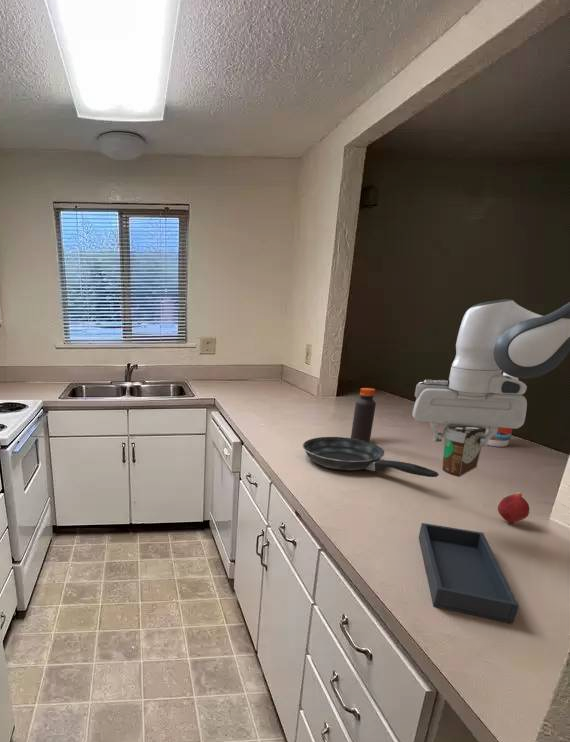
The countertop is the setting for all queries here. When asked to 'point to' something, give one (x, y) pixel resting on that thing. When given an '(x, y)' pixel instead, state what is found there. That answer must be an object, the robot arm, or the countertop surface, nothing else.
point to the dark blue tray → (465, 573)
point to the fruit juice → (501, 432)
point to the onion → (513, 508)
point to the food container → (461, 448)
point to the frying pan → (356, 456)
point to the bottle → (364, 415)
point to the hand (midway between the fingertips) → (459, 443)
